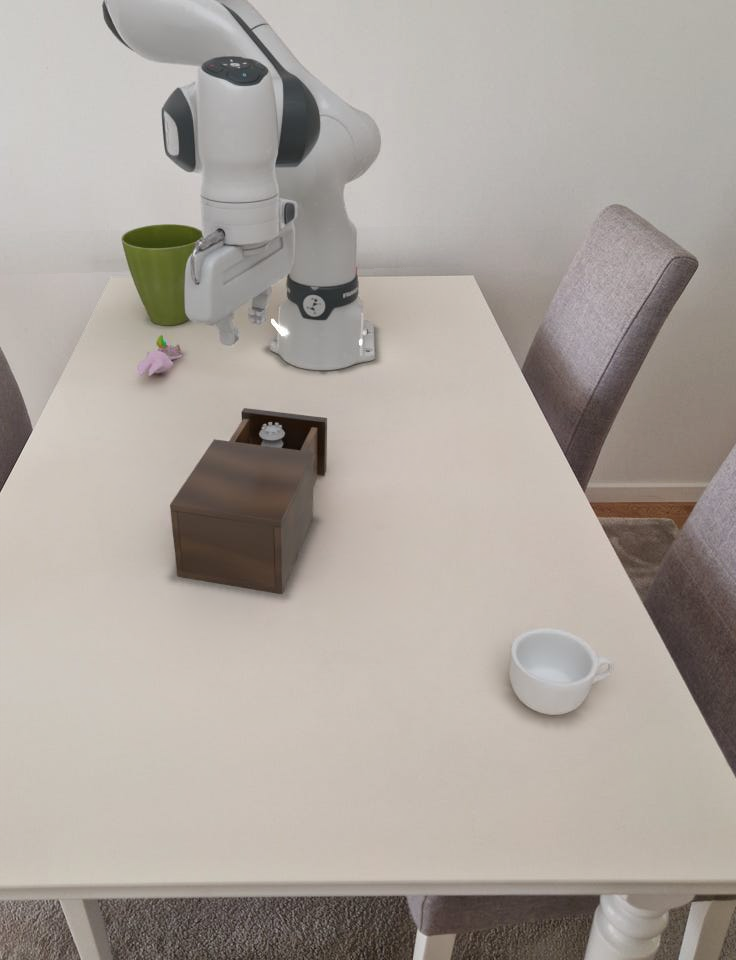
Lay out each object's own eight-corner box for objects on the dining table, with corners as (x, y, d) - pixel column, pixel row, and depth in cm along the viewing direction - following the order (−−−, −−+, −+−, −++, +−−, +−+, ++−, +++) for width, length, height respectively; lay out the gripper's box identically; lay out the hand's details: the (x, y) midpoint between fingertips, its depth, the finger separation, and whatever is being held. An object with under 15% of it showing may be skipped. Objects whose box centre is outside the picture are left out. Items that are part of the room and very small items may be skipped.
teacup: (517, 730, 78) (526, 689, 75) (494, 669, 85) (501, 629, 82) (622, 722, 79) (635, 681, 76) (591, 662, 85) (601, 623, 82)
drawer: (256, 443, 121) (254, 391, 116) (333, 453, 118) (335, 401, 114) (214, 515, 106) (209, 459, 101) (301, 528, 103) (301, 471, 99)
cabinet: (218, 506, 109) (213, 438, 104) (312, 520, 106) (313, 451, 101) (177, 576, 98) (169, 504, 92) (282, 594, 95) (280, 521, 89)
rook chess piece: (249, 480, 111) (246, 427, 106) (273, 467, 113) (272, 414, 109) (272, 493, 108) (271, 439, 104) (297, 479, 111) (296, 426, 106)
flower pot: (132, 305, 168) (123, 225, 159) (207, 301, 169) (202, 222, 161) (129, 335, 156) (118, 250, 147) (210, 331, 157) (204, 246, 148)
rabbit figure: (156, 359, 150) (126, 383, 137) (154, 326, 148) (124, 347, 134) (190, 361, 149) (164, 386, 136) (189, 328, 147) (162, 350, 133)
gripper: (216, 249, 87) (222, 371, 94) (304, 200, 102) (303, 308, 110) (165, 240, 89) (175, 360, 97) (258, 193, 104) (260, 300, 112)
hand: (244, 332), depth 103 cm, fingers open, 6 cm apart
